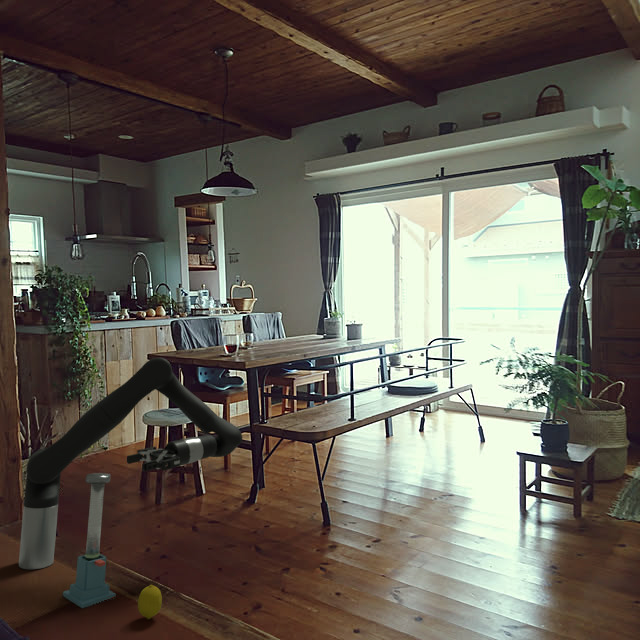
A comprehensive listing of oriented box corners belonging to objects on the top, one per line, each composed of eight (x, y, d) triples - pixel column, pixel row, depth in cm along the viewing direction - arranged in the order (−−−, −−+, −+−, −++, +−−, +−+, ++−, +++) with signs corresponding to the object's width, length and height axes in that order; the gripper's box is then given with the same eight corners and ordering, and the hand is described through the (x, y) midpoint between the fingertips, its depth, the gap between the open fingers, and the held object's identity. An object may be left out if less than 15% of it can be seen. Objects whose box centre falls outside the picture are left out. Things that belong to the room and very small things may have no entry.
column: (74, 570, 146) (81, 474, 148) (96, 564, 151) (103, 472, 152) (85, 576, 142) (93, 478, 144) (107, 570, 147) (115, 475, 149)
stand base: (62, 595, 146) (66, 556, 146) (95, 586, 153) (98, 548, 153) (82, 608, 139) (85, 567, 140) (115, 597, 146) (118, 558, 147)
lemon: (153, 625, 132) (156, 590, 133) (132, 622, 133) (134, 587, 134) (164, 615, 138) (167, 582, 138) (144, 612, 139) (146, 579, 139)
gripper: (171, 434, 174) (122, 444, 162) (198, 444, 165) (148, 456, 153) (170, 458, 175) (122, 470, 163) (198, 469, 165) (148, 483, 153)
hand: (134, 463), depth 158 cm, fingers open, 8 cm apart
